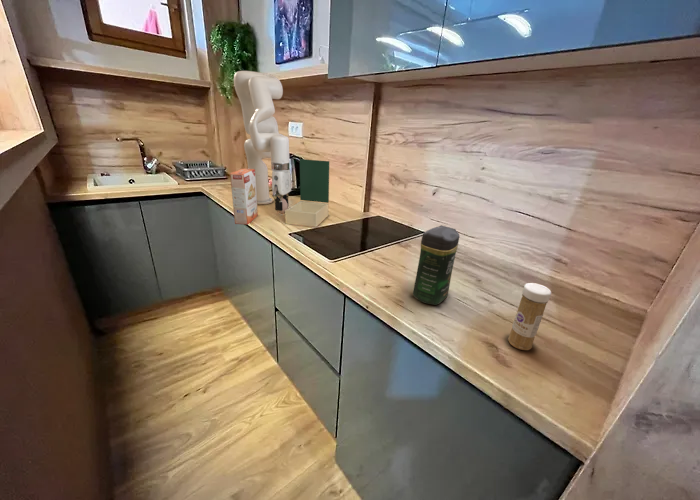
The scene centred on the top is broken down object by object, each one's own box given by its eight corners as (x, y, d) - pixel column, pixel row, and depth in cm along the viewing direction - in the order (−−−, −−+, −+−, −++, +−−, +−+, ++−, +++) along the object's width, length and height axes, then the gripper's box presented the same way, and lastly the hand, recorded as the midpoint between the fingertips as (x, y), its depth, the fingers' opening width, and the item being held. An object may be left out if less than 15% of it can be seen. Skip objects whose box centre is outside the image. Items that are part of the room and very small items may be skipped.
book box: (315, 227, 126) (315, 213, 124) (285, 223, 129) (284, 210, 127) (328, 215, 142) (328, 203, 140) (301, 212, 145) (300, 200, 142)
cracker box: (249, 225, 125) (244, 173, 116) (234, 224, 125) (228, 172, 116) (259, 215, 137) (255, 168, 129) (245, 215, 138) (241, 167, 129)
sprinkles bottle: (503, 340, 64) (519, 284, 59) (516, 334, 66) (533, 280, 61) (523, 354, 60) (542, 296, 55) (537, 347, 62) (557, 290, 57)
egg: (289, 215, 135) (289, 199, 132) (277, 216, 133) (277, 200, 130) (286, 212, 139) (285, 196, 136) (274, 213, 137) (274, 197, 134)
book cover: (328, 161, 132) (332, 160, 137) (299, 159, 135) (304, 158, 140) (328, 202, 139) (331, 200, 144) (300, 200, 142) (304, 197, 147)
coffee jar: (437, 309, 73) (450, 238, 66) (408, 298, 78) (417, 229, 71) (452, 294, 81) (465, 228, 73) (424, 284, 85) (434, 220, 78)
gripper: (279, 170, 119) (281, 215, 126) (296, 164, 134) (297, 204, 142) (262, 169, 120) (265, 212, 128) (281, 163, 136) (282, 202, 143)
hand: (282, 208), depth 135 cm, fingers closed on egg, 5 cm apart
